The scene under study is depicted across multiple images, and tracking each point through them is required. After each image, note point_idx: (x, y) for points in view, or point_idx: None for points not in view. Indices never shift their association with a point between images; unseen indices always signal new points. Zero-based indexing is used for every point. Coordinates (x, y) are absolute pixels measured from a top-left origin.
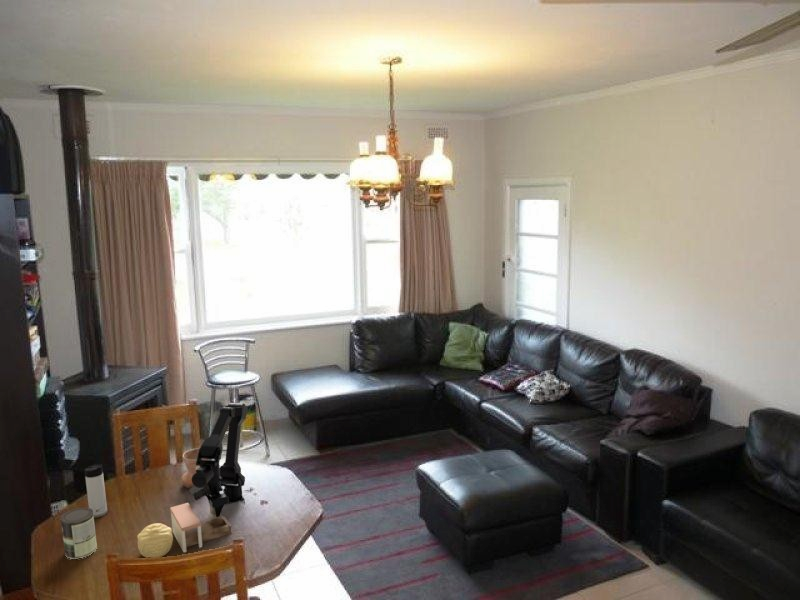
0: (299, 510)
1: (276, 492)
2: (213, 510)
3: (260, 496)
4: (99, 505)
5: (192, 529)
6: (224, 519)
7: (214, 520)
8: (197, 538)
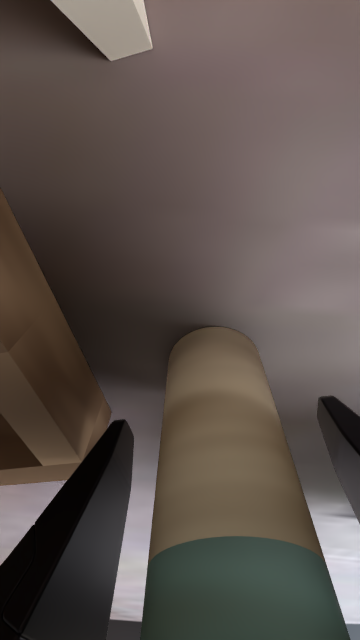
0: (138, 603)
1: (341, 592)
2: (160, 468)
3: (356, 560)
4: None
5: None
6: (24, 473)
7: (11, 408)
8: None
